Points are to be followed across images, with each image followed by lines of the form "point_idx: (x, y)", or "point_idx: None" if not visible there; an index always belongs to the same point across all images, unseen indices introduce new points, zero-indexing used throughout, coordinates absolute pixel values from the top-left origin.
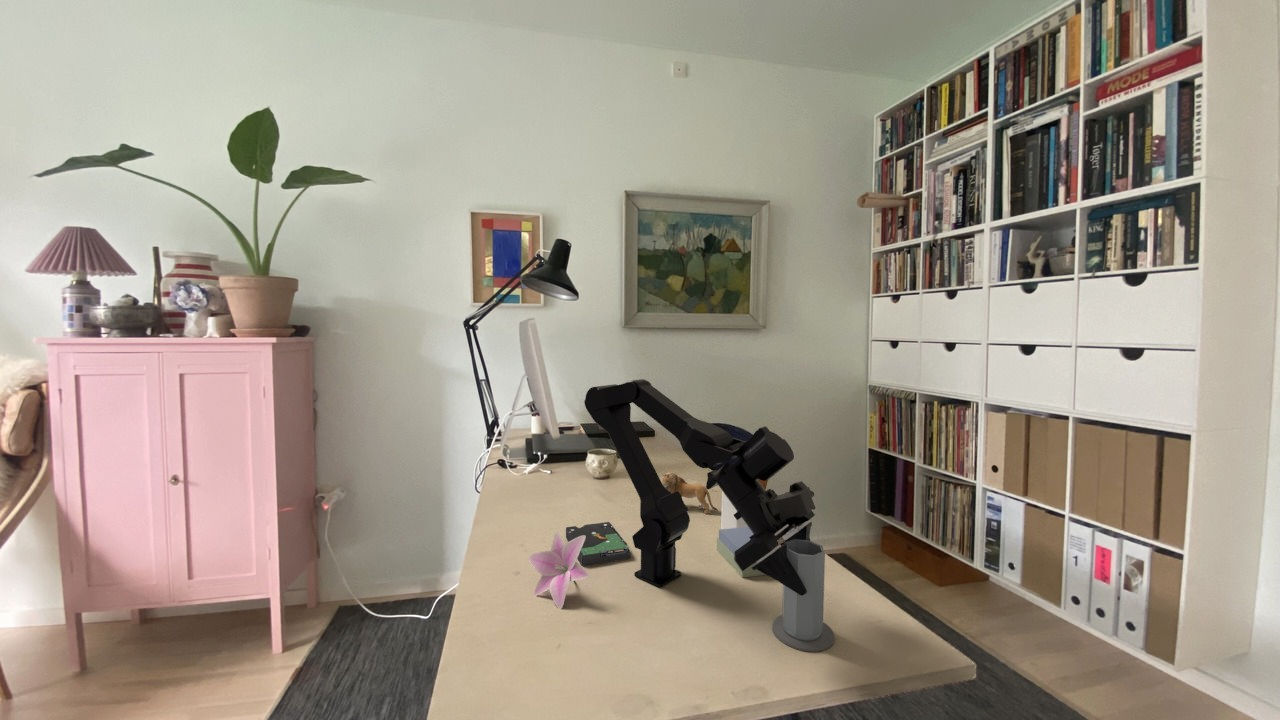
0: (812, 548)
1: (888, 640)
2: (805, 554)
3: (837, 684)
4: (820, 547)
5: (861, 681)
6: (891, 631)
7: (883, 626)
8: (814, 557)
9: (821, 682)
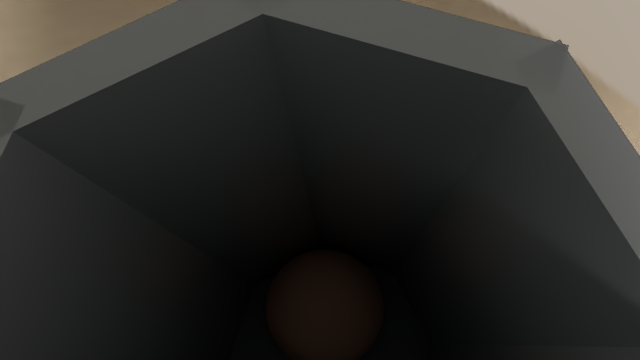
0: (6, 306)
1: (133, 5)
2: (616, 221)
3: (593, 88)
4: (69, 98)
5: (501, 21)
6: (49, 10)
7: (25, 46)
8: (558, 59)
9: (633, 143)
